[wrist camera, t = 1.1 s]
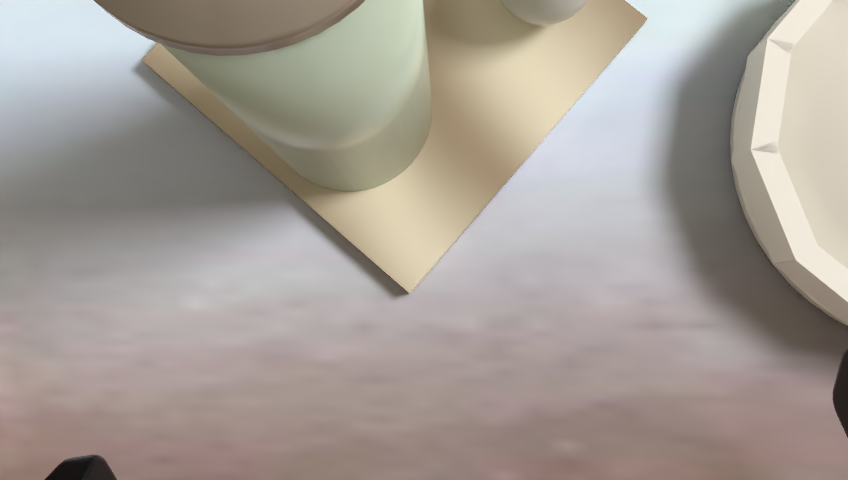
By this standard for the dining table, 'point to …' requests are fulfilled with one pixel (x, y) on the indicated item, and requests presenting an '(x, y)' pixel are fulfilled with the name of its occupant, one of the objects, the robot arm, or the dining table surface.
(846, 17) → the round white tray
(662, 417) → the dining table surface
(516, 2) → the glossy white ball
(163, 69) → the board
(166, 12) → the pale green lidded canister
